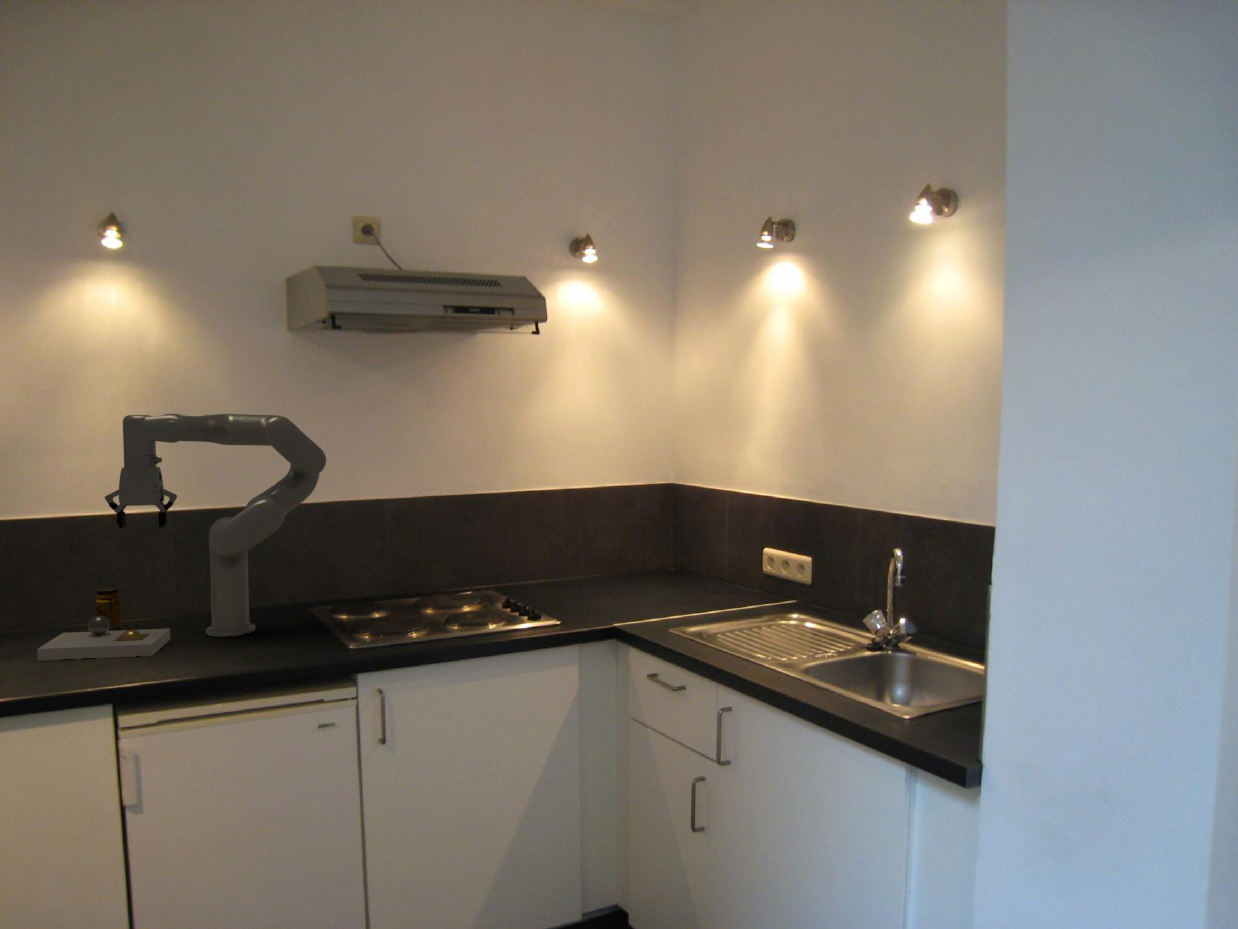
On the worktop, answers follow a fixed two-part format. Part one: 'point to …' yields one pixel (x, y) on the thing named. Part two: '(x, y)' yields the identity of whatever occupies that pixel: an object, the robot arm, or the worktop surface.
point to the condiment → (109, 607)
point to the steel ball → (98, 625)
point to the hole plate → (102, 645)
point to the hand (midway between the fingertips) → (142, 527)
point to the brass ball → (131, 635)
